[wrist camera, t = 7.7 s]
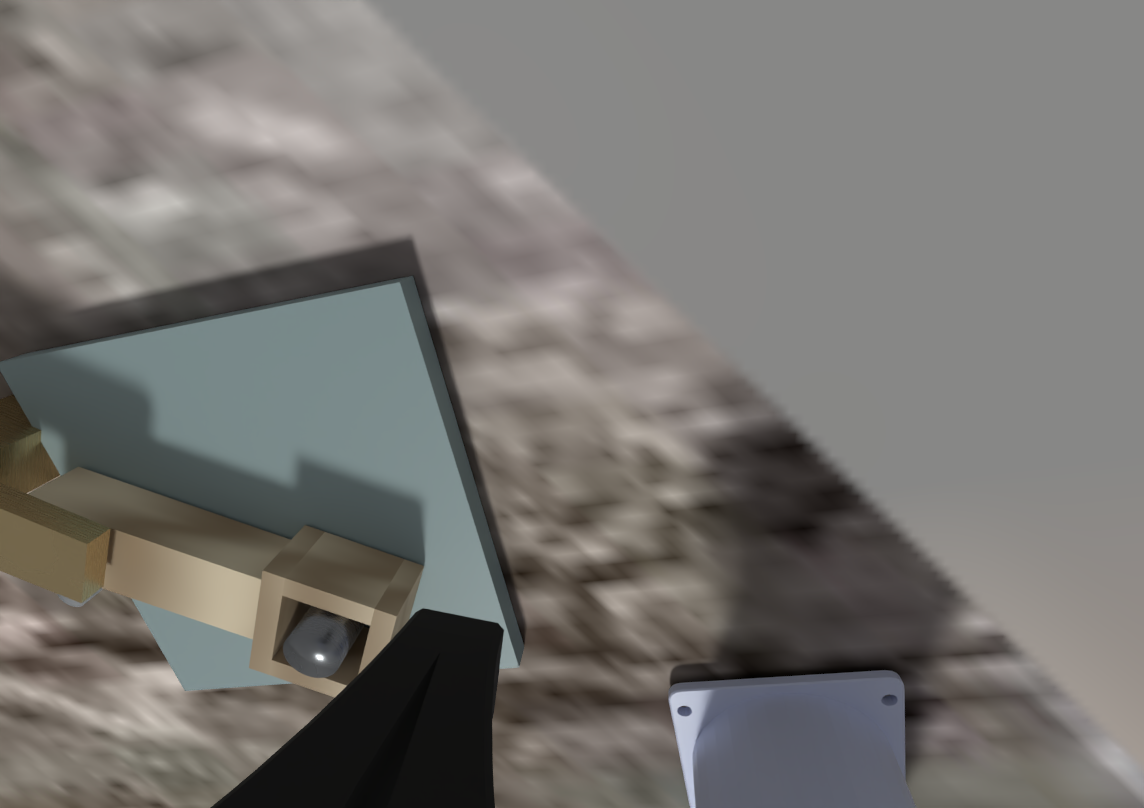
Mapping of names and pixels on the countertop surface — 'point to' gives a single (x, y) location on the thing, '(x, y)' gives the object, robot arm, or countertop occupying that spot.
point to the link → (242, 572)
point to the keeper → (43, 518)
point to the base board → (281, 445)
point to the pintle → (320, 642)
